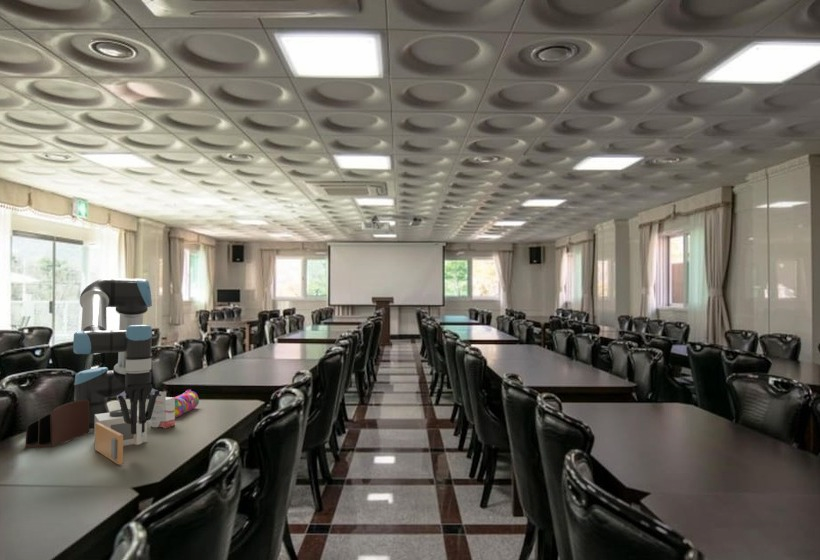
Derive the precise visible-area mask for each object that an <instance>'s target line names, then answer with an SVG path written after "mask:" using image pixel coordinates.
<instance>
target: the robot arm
mask: <svg viewBox="0 0 820 560" xmlns="http://www.w3.org/2000/svg"><path fill="white" fill-rule="evenodd" d="M152 300H153V299H152V293H151V285H150V281H149V280H148V279H146V278H116V277H115V278H114V277H113V278H110V277H109V278H108V277H107V278H101V279H98V280H95V281H93V282H92V283H90V284H89V285H87V286H86V287H85V288H84V289H83V290H82V292H81V294H80V296H79V305H80V307H81V308H82V312H81V327H80V329H81V330H80V331H76V332H74V334H73V343H72V345H73V353H74V354H76V355H93V354H109V353H118V355H117V356H118V357H117V358H118V359H117V363H116V364H115V365H114V366H113V369H112V370H109V368H108V367H106V366H103V367H101V366H100V367H93V368H89V369H85V370H81V371H79V372H76V374H75V377H74V383H73V385H74V399H73V400H74V401H79V400H88V401H89V429H94V420H95V414H102V413H110V412H111V411H110V409H109V407H108V399H109V398H110V399H111V398H116V400H117V401H118V402H119V406H120V409H121V410H122V414H123V418H124V422H125V423H128V424H131V434H134V444H133V445H137V446H138V445H142V443H141V441H142V433H143V432H144V431H145V423H146V421H147V422H149V421H151V416H152V413H153V409H154V405H155V401H156V397H157V396H159V395H160V394H159V392H160V390H159V389H158V390H157V389H155V388H153V385H152V372H151V370H152V346H153V345H152V340H153V339H152V338H153V333H152V325H149V324H144V314H146V313H147V312H148V308H151V307H152V305H153V304H152V302H153V301H152ZM107 308H115V312H116V313H117V314H118V315H119V327H118V328H119V329H117V330H116V329H115V330H107V328H108V327H107V324H108V323H107ZM149 395H150V396H149ZM148 396H149V399H148V402H147V398H148ZM126 398H128V399H129V403H130V408H128V404H127V401H126ZM74 401H73V402H74ZM146 402H147V404H146ZM146 405H147V406H146ZM128 409H130V415H129V412H128ZM137 409H139V423H137Z"/></svg>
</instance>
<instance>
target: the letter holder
mask: <svg viewBox="0 0 820 560" xmlns="http://www.w3.org/2000/svg"><path fill="white" fill-rule="evenodd" d="M25 431H26V432H25V447H24V448H54V447H57V446H58V445H62V444H64V443H66V441H67V442H69V441H72V440H73V439H76V438H79V437H82V436H84V434H85V435H86V434H89V433H90V428H89V401H88V400H79V401H70V402H67V403H64V404H62V405H59V406H57V407H55V408H53V409H52V410H50V412H49V413H48V414H45V415H44V416H42V417H40V418H39V419H37V420H35V421H33V422H30V423H29V424H28V425H27V426H26V429H25Z"/></svg>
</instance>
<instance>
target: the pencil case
mask: <svg viewBox="0 0 820 560" xmlns="http://www.w3.org/2000/svg"><path fill="white" fill-rule="evenodd" d="M198 395H199V394H198V393H197V392H195V391H192V389H186V390H185V392H183V393H182V394H179V395H177V396H173V397H172V398H175V418H178V417H177V416H179V417H180V416H182V415H184V414H186V413H188V412H190V411H192V410H194V409H195V408H196V407H197V406H199V402H200V400H199V399H200V398H199V396H198ZM193 408H194V409H193Z"/></svg>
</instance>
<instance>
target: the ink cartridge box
mask: <svg viewBox="0 0 820 560" xmlns="http://www.w3.org/2000/svg"><path fill="white" fill-rule="evenodd" d="M175 419H176V417H175V398H173V397H172V396H171V397H170V396H167V392H166V391H159V394H158V396H157V397H156V401H155V405H154V409H153V413H152V416H151V419H150V427H151V426H152V427H151V428H157V427H163V428H162V429H168V428H167V427H169V428H171V427H170V426H172V427H174V426H173V425H176V424H175V423H176V422H175V421H176V420H175Z"/></svg>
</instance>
